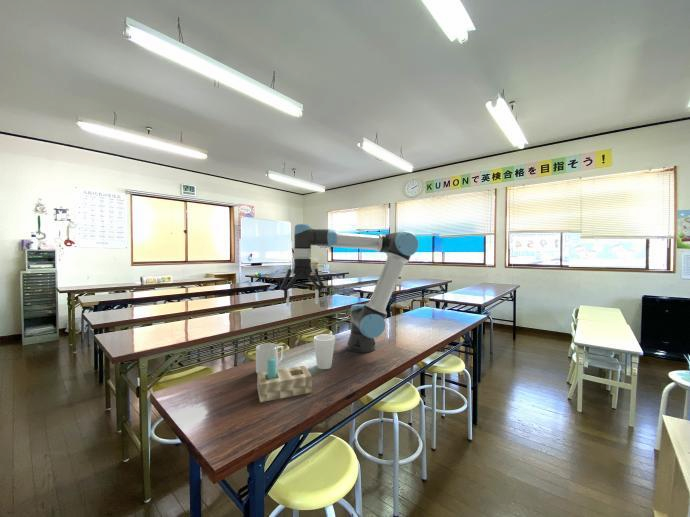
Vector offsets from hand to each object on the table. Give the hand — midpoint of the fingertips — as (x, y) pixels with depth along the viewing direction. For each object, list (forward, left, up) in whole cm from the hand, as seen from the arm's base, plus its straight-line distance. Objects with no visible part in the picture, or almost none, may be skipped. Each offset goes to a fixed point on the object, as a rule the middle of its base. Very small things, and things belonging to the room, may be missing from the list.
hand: (302, 304), depth 129 cm
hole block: (+13, +24, -27) cm, 38 cm away
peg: (+17, +24, -27) cm, 39 cm away
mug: (+15, +5, -27) cm, 31 cm away
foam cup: (-8, +8, -27) cm, 29 cm away
